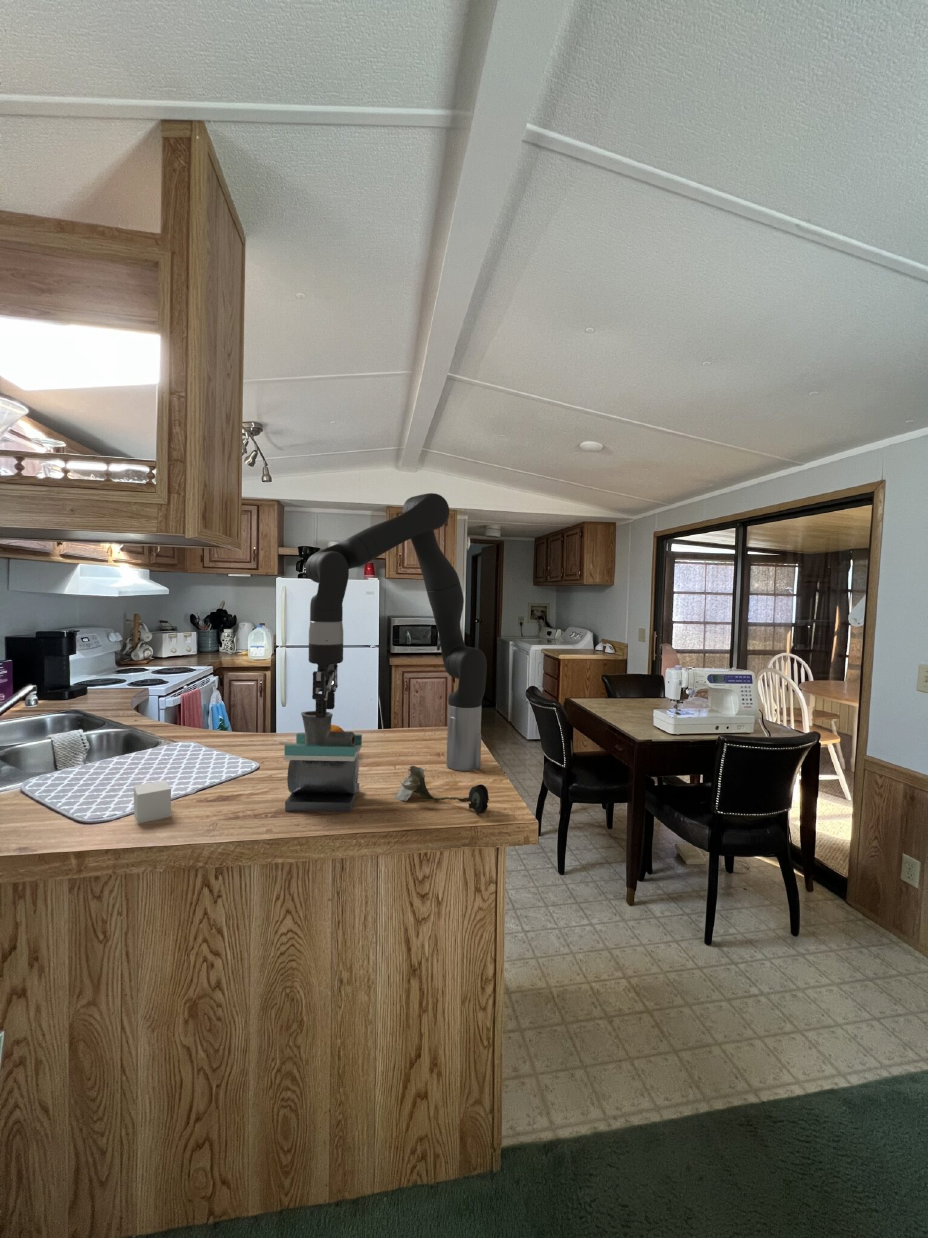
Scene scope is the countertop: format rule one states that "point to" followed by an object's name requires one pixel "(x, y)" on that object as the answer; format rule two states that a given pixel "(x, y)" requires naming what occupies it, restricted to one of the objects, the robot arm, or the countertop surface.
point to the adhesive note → (152, 801)
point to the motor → (322, 776)
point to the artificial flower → (417, 785)
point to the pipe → (324, 731)
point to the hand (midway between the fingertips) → (325, 713)
